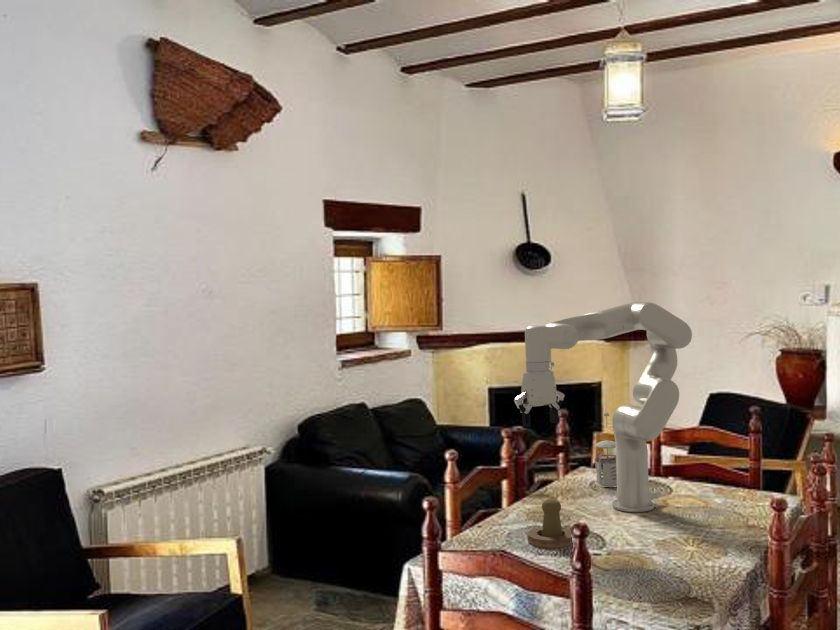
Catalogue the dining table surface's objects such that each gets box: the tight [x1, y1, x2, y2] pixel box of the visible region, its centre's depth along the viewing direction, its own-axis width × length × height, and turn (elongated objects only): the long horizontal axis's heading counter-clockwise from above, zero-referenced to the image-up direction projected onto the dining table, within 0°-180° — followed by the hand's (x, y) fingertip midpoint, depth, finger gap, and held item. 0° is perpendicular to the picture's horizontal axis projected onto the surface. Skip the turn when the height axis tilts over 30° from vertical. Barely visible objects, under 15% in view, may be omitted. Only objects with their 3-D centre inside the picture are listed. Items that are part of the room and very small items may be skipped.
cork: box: [541, 498, 563, 537], centre depth 225 cm, size 6×6×11 cm
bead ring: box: [526, 525, 573, 549], centre depth 225 cm, size 13×13×2 cm
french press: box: [594, 412, 617, 487], centre depth 282 cm, size 10×12×25 cm
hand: (540, 424), depth 244 cm, fingers open, 9 cm apart
